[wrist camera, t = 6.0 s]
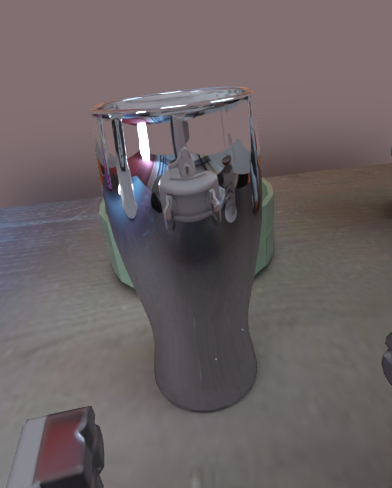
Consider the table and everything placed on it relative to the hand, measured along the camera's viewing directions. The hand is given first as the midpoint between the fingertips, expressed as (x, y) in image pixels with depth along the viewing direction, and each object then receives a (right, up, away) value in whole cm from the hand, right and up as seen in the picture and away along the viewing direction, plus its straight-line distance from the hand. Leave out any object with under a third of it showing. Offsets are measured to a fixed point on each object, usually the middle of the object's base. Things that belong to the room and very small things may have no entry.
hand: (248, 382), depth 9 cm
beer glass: (-1, -4, +12) cm, 12 cm away
